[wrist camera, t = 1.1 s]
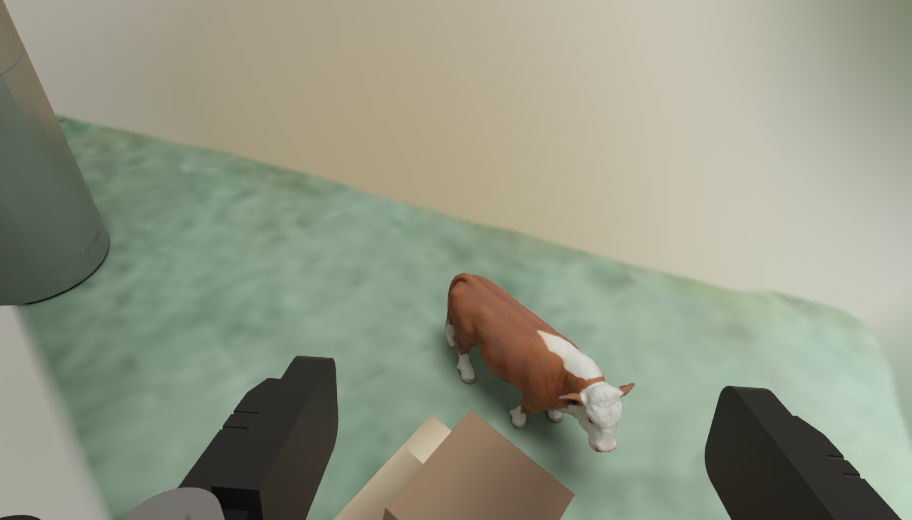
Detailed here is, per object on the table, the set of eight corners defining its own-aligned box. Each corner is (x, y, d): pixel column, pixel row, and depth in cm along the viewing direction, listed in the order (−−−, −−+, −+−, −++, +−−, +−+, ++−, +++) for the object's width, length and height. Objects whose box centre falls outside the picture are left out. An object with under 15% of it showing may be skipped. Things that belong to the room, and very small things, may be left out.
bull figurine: (563, 502, 30) (618, 443, 24) (422, 342, 36) (439, 264, 30) (607, 457, 32) (667, 394, 26) (468, 314, 38) (492, 237, 32)
